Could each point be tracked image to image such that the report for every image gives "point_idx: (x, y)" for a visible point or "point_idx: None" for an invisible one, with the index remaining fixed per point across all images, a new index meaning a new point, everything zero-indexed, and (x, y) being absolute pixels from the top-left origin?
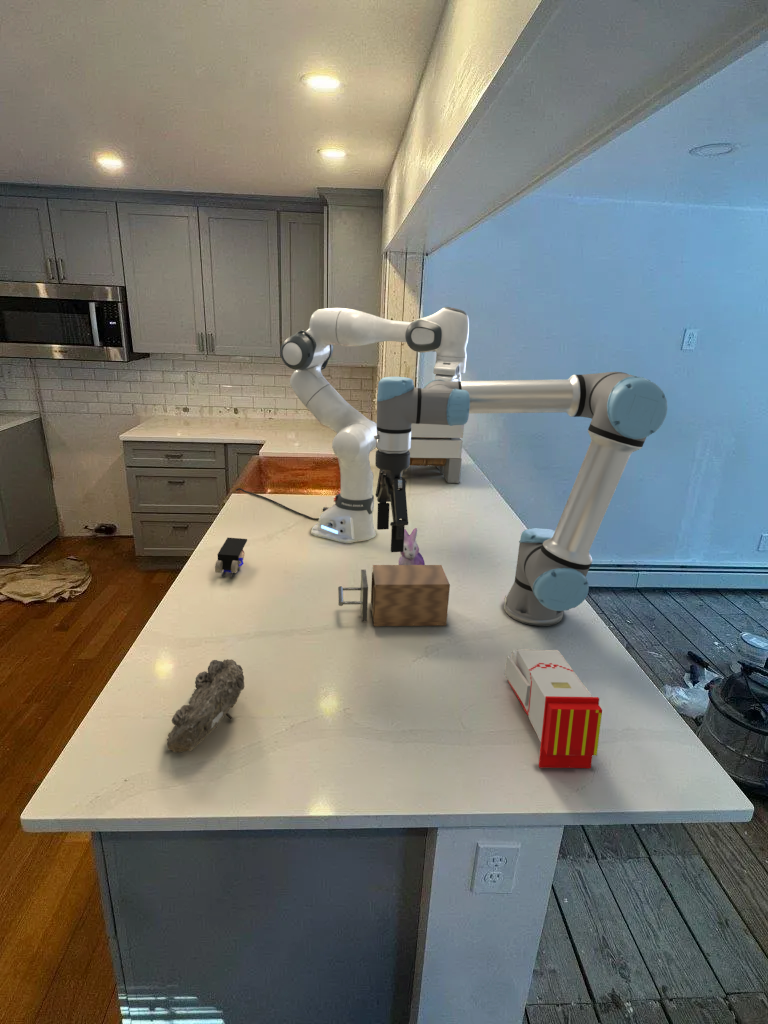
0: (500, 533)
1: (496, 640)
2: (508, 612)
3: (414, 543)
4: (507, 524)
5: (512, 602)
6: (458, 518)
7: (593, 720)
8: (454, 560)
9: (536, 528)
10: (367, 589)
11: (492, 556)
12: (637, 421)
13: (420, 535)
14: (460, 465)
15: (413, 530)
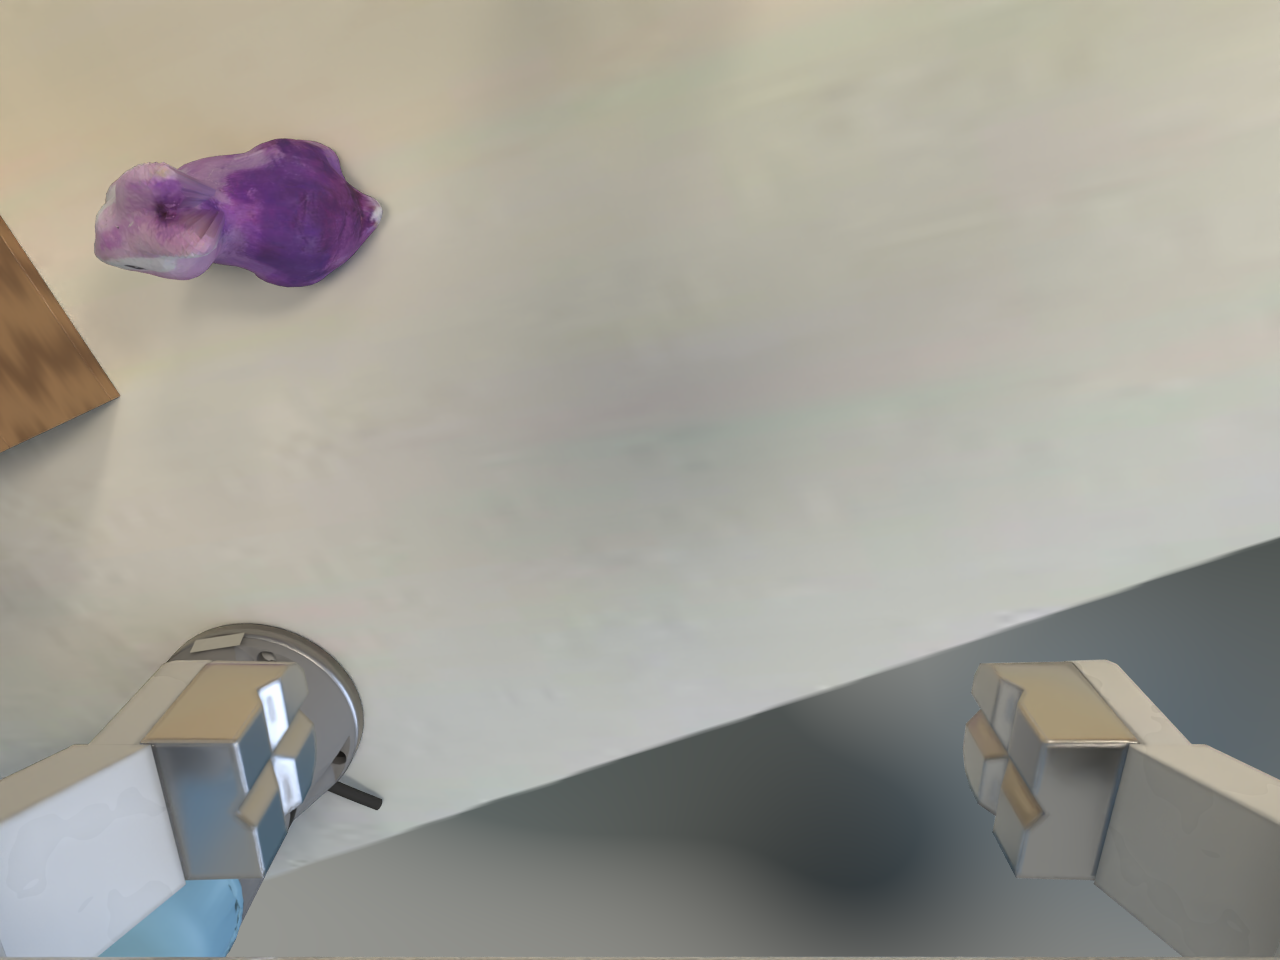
0: (1004, 525)
1: (4, 624)
2: (183, 646)
3: (134, 260)
4: (1149, 543)
5: None
6: (1191, 275)
7: None
8: (572, 373)
9: (143, 941)
10: None
11: (692, 526)
12: None
13: (839, 117)
14: None
15: (171, 236)
